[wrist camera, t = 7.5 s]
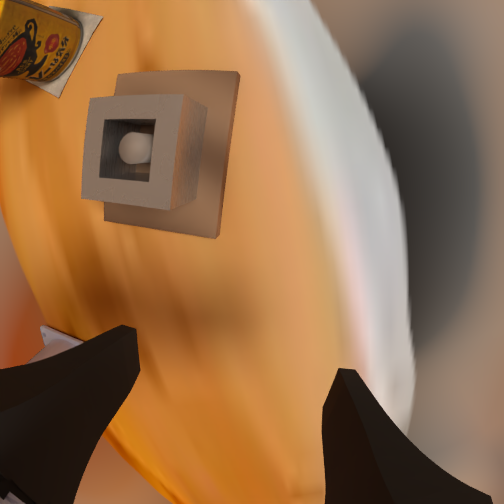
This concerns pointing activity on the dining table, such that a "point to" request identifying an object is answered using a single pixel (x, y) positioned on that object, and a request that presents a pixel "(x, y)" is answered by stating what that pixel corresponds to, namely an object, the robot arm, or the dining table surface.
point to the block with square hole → (163, 151)
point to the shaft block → (213, 151)
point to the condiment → (42, 42)
